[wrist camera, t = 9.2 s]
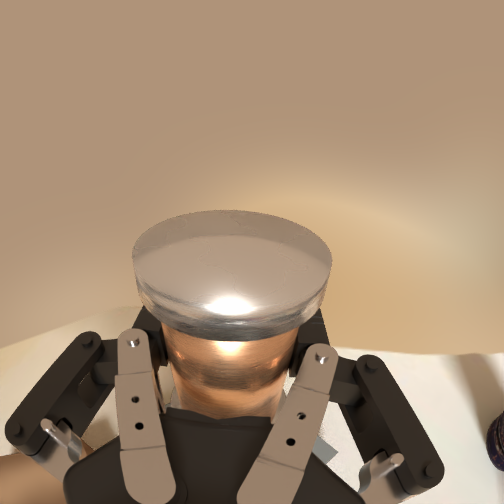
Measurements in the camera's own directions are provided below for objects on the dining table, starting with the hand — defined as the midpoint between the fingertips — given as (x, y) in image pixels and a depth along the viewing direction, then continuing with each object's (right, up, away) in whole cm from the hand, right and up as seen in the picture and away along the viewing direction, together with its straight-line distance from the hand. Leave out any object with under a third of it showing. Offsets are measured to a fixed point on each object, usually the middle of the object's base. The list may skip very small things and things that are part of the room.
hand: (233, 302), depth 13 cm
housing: (0, -7, +1) cm, 7 cm away
